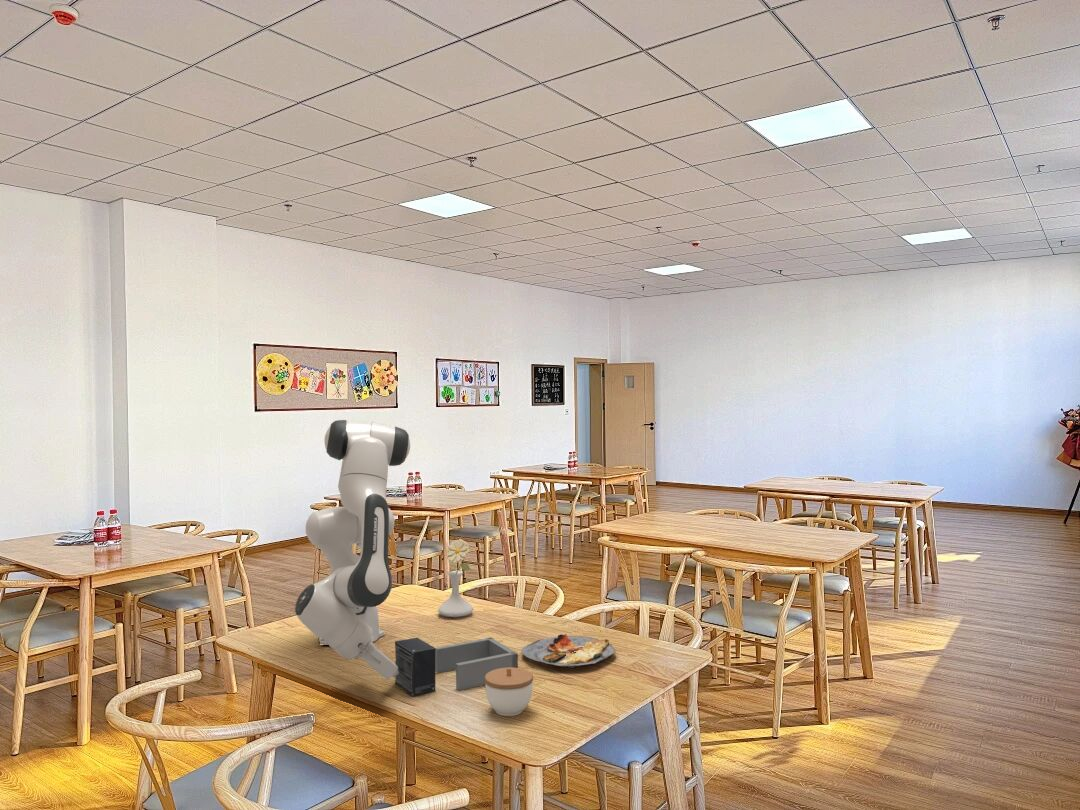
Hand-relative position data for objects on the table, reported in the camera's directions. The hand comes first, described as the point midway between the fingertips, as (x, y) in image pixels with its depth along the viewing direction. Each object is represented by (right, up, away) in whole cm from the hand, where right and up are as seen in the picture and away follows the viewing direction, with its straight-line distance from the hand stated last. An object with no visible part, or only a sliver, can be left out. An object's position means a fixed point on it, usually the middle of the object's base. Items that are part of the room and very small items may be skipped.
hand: (394, 673), depth 177 cm
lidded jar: (+28, -4, -12) cm, 31 cm away
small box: (+5, -4, +2) cm, 7 cm away
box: (+18, -4, +10) cm, 22 cm away
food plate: (+42, -4, +23) cm, 48 cm away
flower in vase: (+8, -4, +63) cm, 64 cm away
